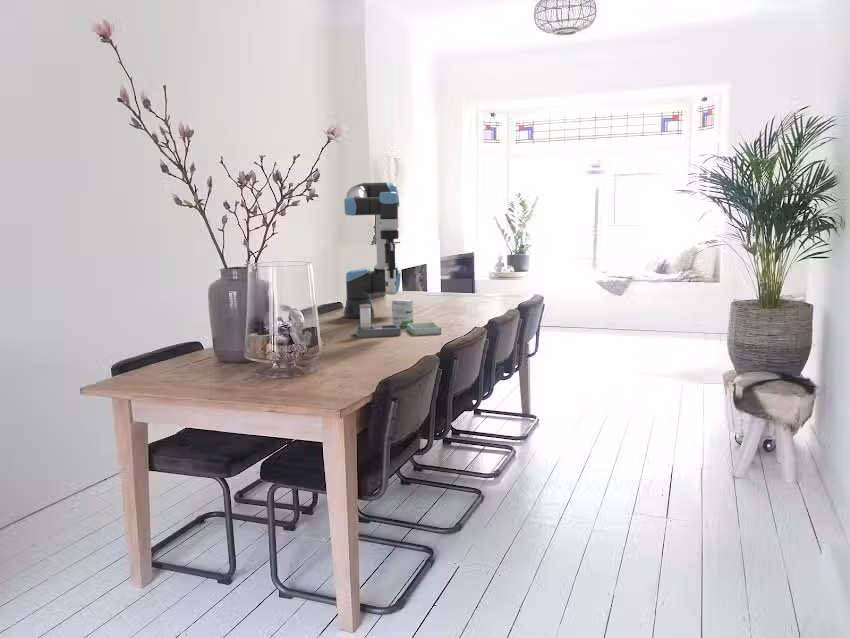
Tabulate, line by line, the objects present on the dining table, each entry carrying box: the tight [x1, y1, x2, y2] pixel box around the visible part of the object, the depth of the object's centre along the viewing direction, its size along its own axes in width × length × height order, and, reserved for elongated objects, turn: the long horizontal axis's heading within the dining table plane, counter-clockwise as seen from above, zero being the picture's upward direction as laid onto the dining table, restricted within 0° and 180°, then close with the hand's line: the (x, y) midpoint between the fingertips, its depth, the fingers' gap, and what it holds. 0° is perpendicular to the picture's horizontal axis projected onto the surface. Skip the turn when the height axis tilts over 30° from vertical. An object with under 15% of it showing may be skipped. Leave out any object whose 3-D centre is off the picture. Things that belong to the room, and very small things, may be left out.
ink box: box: [391, 298, 414, 328], centre depth 318 cm, size 9×5×12 cm, turn 60°
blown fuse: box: [384, 262, 397, 296], centre depth 297 cm, size 5×5×13 cm
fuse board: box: [354, 324, 402, 338], centre depth 299 cm, size 10×18×3 cm, turn 102°
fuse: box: [359, 303, 372, 329], centre depth 297 cm, size 5×5×13 cm
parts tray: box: [406, 321, 442, 336], centre depth 303 cm, size 14×12×3 cm
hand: (390, 285), depth 297 cm, fingers closed on blown fuse, 4 cm apart
